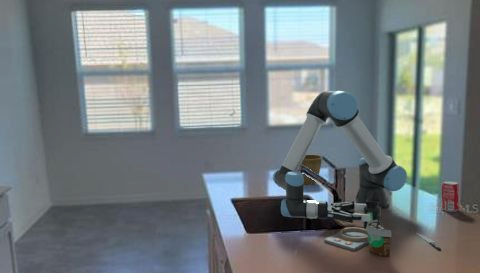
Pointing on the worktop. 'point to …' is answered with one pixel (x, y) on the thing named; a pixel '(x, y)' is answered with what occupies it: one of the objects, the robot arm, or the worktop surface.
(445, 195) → the soda can
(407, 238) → the worktop surface
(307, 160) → the plant pot
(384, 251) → the food container
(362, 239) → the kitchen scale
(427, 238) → the chef's knife
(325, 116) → the robot arm
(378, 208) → the supplement bottle
